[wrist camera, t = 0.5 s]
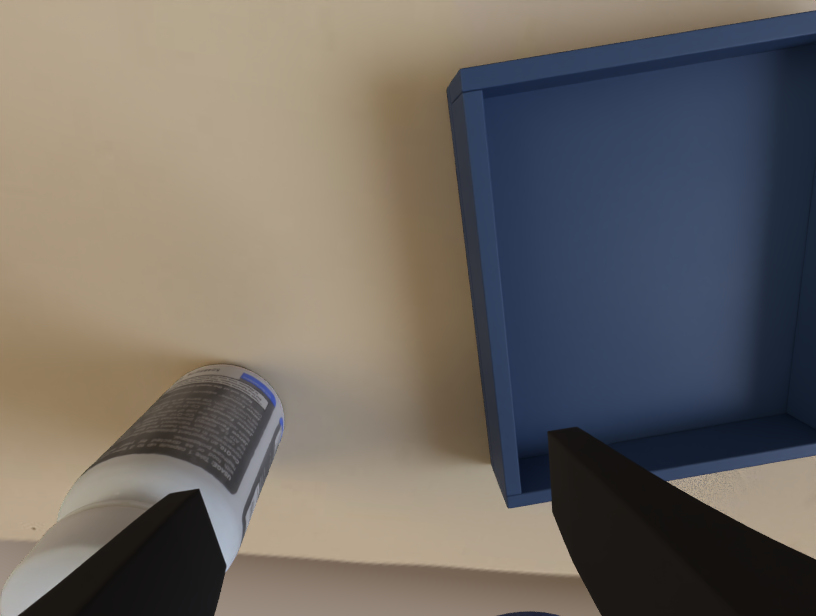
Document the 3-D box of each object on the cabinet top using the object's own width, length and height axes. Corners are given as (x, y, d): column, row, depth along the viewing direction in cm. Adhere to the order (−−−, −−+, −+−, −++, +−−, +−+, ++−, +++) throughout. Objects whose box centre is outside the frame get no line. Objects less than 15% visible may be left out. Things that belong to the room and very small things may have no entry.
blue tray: (784, 415, 19) (845, 451, 16) (491, 465, 19) (507, 509, 16) (830, 24, 14) (923, -9, 12) (445, 87, 14) (459, 68, 12)
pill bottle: (145, 382, 17) (-74, 569, 9) (259, 346, 17) (143, 503, 8) (199, 477, 18) (52, 716, 10) (304, 446, 18) (240, 662, 10)
